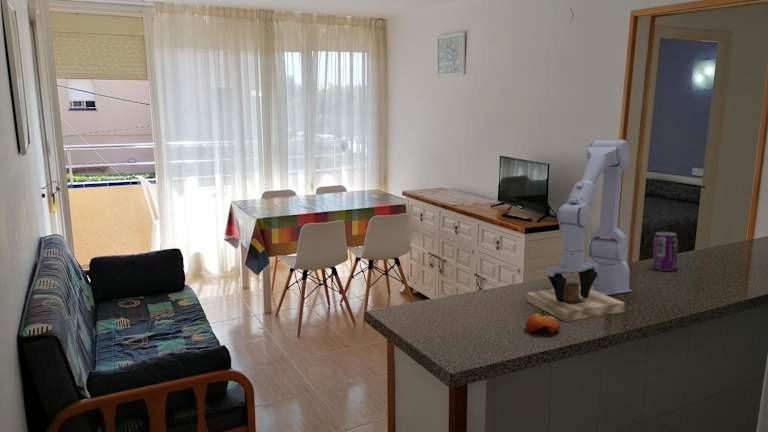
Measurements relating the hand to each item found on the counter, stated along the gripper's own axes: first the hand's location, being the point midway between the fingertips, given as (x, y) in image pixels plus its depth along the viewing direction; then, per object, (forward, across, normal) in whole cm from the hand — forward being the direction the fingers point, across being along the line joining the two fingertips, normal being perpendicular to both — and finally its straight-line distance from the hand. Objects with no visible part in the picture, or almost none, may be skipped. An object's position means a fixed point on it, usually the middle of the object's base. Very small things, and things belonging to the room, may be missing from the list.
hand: (572, 299), depth 153 cm
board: (+3, -2, -2) cm, 4 cm away
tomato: (+3, +16, +10) cm, 19 cm away
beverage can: (+3, -51, -22) cm, 56 cm away
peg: (+3, 0, 0) cm, 3 cm away
